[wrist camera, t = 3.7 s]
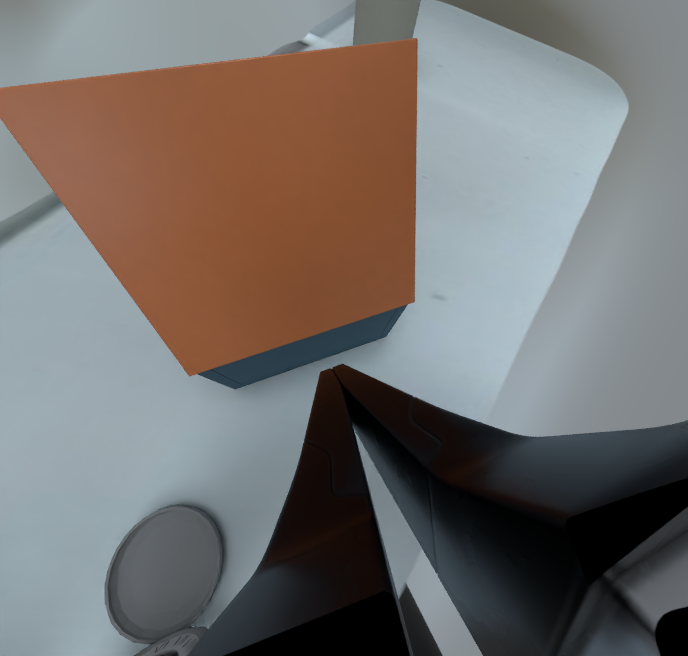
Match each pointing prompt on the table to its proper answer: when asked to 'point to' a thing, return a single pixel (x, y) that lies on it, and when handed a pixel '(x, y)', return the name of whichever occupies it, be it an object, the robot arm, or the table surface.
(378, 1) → the travel mug
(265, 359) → the storage box
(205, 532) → the pocket watch
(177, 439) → the table surface
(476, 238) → the table surface
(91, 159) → the box lid
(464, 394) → the table surface
